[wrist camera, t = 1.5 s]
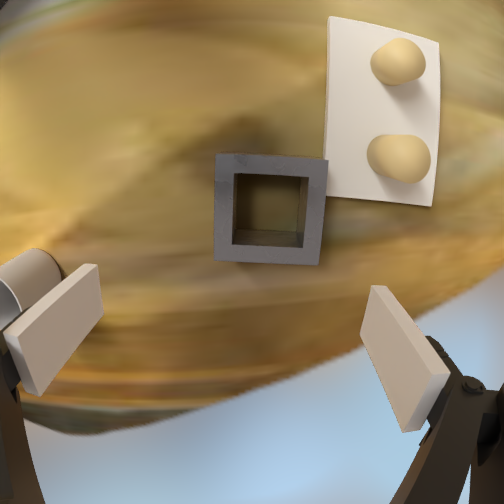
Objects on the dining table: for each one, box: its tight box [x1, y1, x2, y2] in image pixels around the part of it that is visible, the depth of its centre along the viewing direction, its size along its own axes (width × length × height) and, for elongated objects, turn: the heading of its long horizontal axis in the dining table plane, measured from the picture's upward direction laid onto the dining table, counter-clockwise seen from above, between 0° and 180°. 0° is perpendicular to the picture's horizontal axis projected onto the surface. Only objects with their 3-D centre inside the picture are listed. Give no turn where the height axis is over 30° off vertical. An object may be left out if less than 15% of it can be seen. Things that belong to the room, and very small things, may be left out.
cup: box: [0, 248, 62, 330], centre depth 30 cm, size 7×10×9 cm
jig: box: [323, 16, 440, 206], centre depth 24 cm, size 18×12×7 cm, turn 178°
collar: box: [214, 152, 329, 265], centre depth 28 cm, size 9×9×5 cm
